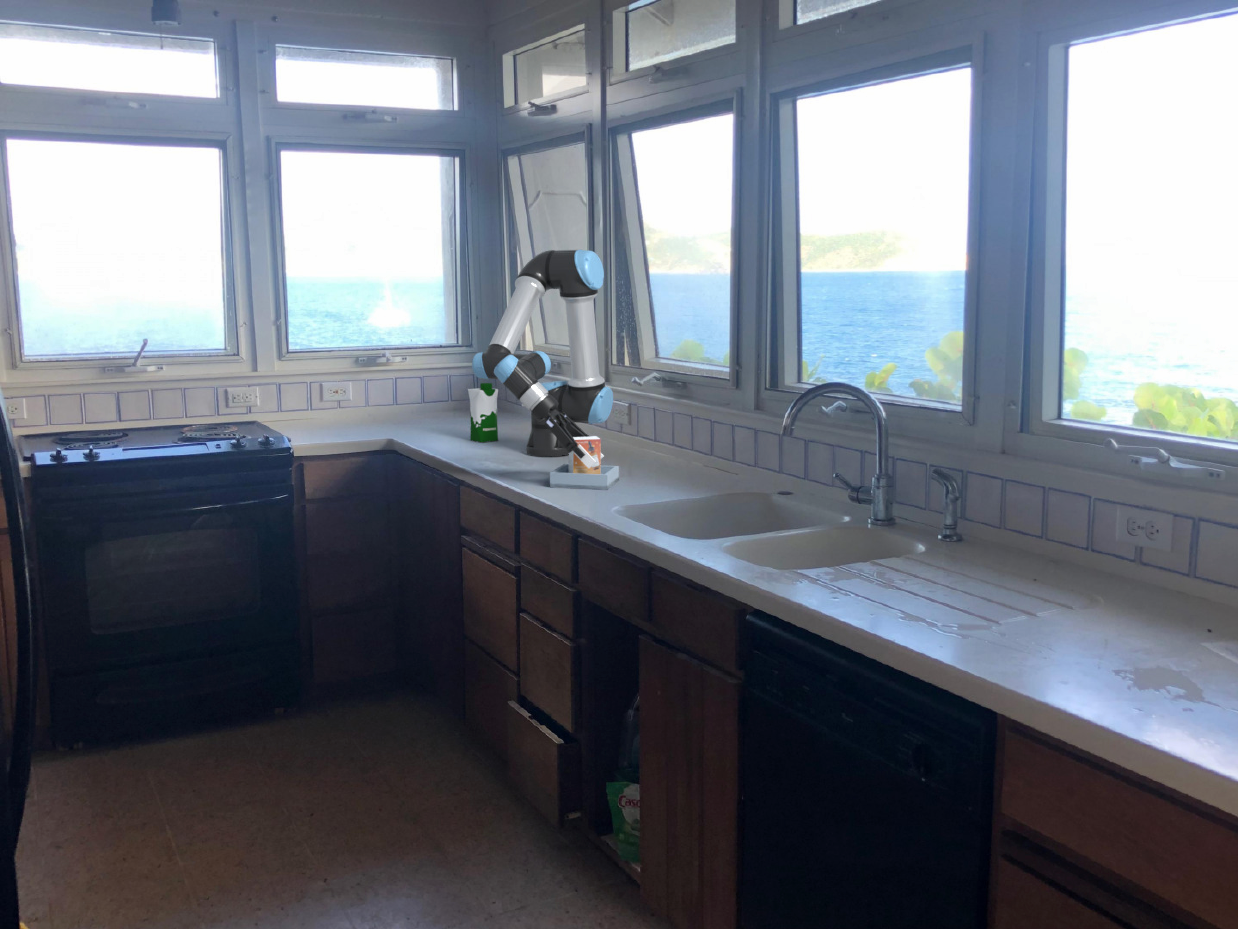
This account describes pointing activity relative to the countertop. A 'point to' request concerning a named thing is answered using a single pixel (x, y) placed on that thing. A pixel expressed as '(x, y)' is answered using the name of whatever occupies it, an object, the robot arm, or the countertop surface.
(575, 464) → the small box
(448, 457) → the countertop surface
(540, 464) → the countertop surface
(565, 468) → the tray
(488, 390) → the milk carton
